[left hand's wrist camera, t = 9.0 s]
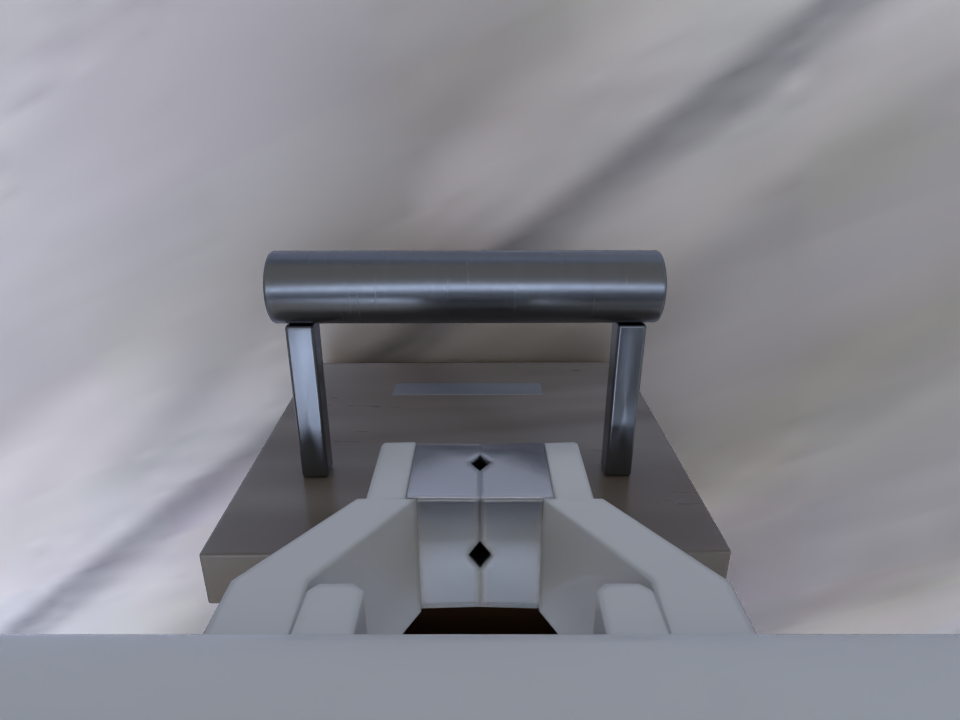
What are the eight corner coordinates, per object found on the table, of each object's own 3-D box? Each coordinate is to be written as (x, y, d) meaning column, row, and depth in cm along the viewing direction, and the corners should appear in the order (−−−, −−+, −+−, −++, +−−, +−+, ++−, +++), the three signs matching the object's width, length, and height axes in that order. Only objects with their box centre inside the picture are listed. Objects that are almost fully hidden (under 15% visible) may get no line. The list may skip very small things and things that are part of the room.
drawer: (295, 202, 19) (144, 292, 10) (638, 201, 19) (779, 291, 10) (353, 750, 28) (298, 1052, 19) (587, 747, 28) (641, 1047, 19)
